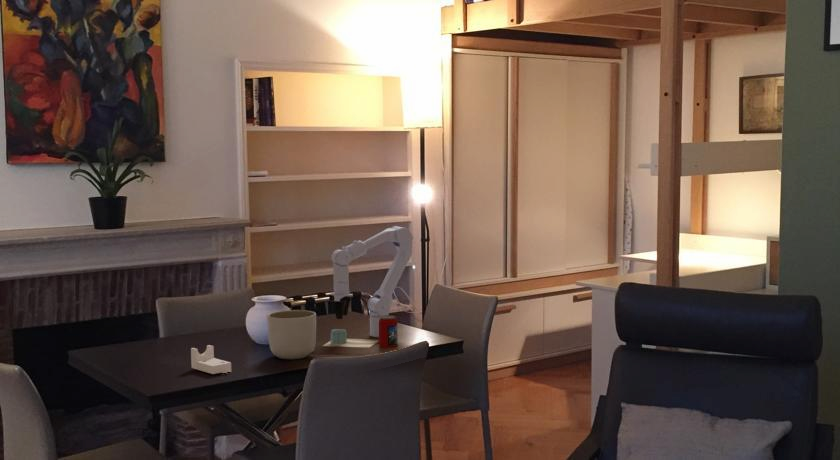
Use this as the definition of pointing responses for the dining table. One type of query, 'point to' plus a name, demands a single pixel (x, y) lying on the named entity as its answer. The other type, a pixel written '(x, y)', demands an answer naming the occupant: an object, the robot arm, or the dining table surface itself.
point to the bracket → (208, 361)
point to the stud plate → (354, 343)
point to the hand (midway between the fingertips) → (341, 317)
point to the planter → (292, 333)
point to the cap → (338, 336)
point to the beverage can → (388, 332)
